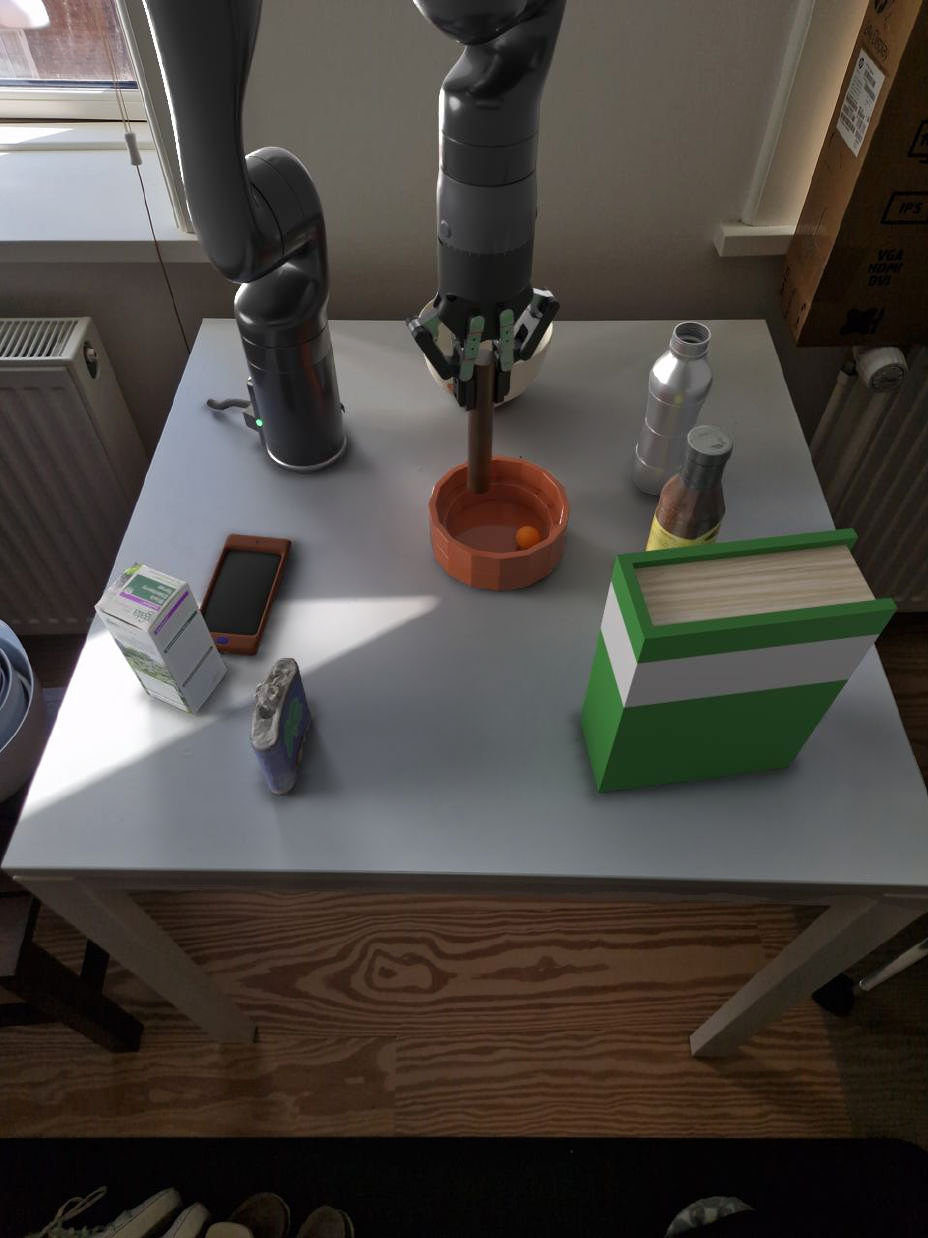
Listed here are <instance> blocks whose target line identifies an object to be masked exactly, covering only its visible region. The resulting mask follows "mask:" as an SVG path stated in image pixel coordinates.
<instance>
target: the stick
mask: <svg viewBox="0 0 928 1238" xmlns="http://www.w3.org/2000/svg"><path fill="white" fill-rule="evenodd" d="M472 376H473V377H474V379H475V384H474V410H470V411H467V461H468V470H467V487H468V490H469V491H470V492H472V493H474V494H484V493H486V492H488V491H489V489H490V486H491V464H492V456H493V444H494V443H493V441H494V440H493V439H494V419H495V408H494V400H495V378H496V355H495V354H494V353H493V352H492V351H490V350H487V349H479V353H478V358H477V359H475V362H474V369H473V375H472Z"/></svg>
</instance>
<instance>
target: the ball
mask: <svg viewBox="0 0 928 1238" xmlns="http://www.w3.org/2000/svg"><path fill="white" fill-rule="evenodd" d="M515 539H516V543H517V545H518V547H519V548H521V549H522V550H527V549H529V548H531V547H533V546H535V545H537V544H539V542H540V535H539V533H538V531H537V530H536V529H535V528H533V527H531V526H525V527H522V528H521V529H519V530H518V532H517V534H516V538H515Z"/></svg>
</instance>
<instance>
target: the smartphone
mask: <svg viewBox="0 0 928 1238" xmlns="http://www.w3.org/2000/svg"><path fill="white" fill-rule="evenodd" d="M291 547H292V540H290V539H288V538H279V537H271V536H262V535H261V536H260V535H250V534H238V533H230V534H228V535H227V537H226V539H225V542H224V545H223V547H222V550H221V552H220V555H219V557H218V560H217V563H216V565H215V567H214V570H213V573H212V575H211V578H210V581H209V583H208V586H207V589H206V591H205V593H204V596H203V599H202V602H201V604H200V607H199V610H200V612H201V614H202V616H203V619H204V621H205V623H206V626H207V628H208V630H209V632H210V635H211V637H212V639H213V641H214V644H215V646H216V648H217V650H218V653H219V654H220V653H222V654H229V655H238V656H239V655H240V656H248V657H253V656H255V655H257V652H258V650H259V647H260V645H261V643H262V639H263V636H264V633H265V629H266V627H267V623H268V620H269V617H270V615H271V611H272V607H273V604H274V601H275V598H276V596H277V592H278V589H279V585H280V583H281V580H282V577H283V573H284V570H285V567H286V564H287V561H288V559H289V558H288V557H289V554H290V551H291Z"/></svg>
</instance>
